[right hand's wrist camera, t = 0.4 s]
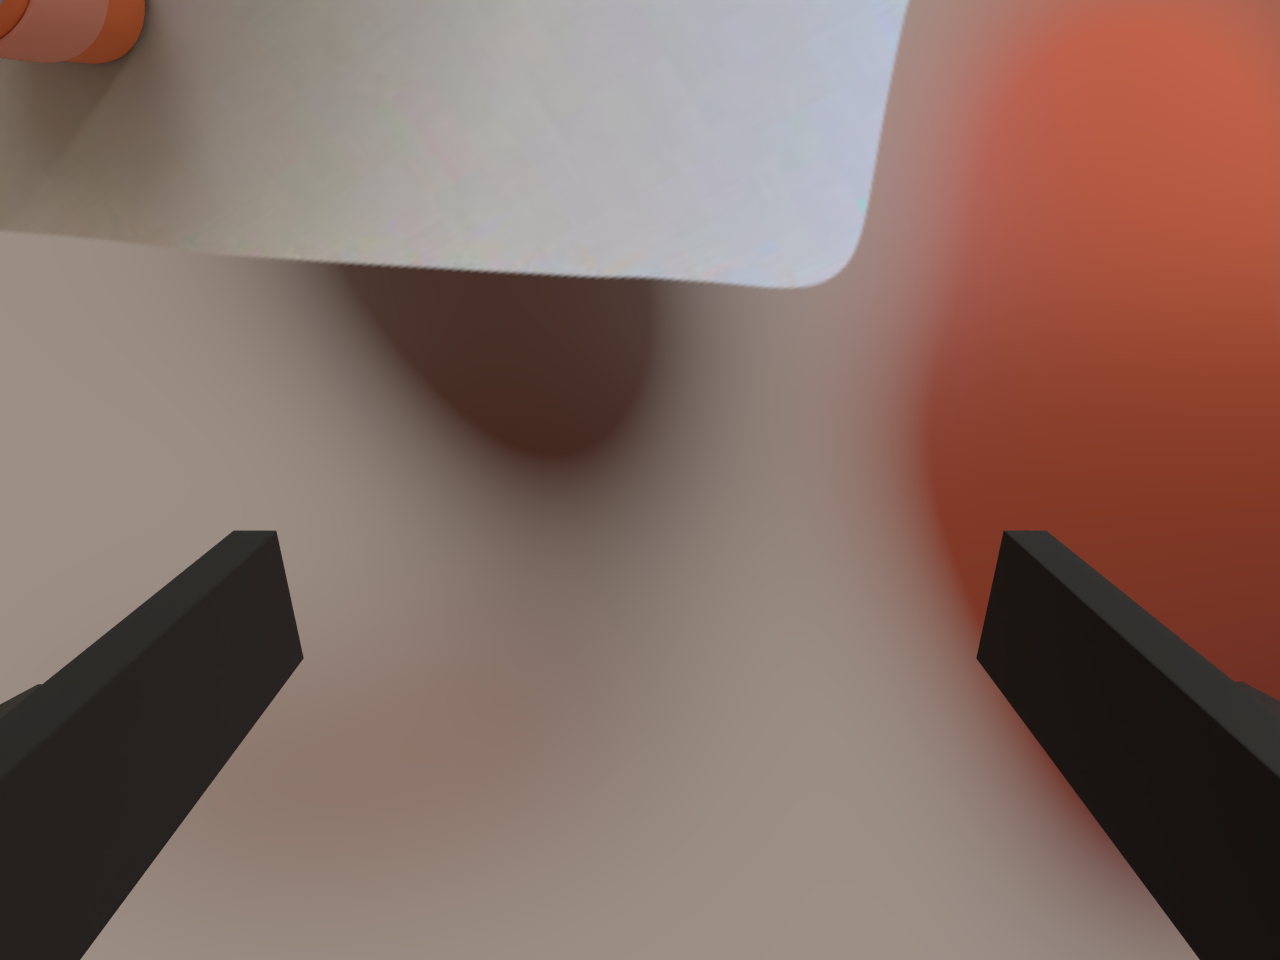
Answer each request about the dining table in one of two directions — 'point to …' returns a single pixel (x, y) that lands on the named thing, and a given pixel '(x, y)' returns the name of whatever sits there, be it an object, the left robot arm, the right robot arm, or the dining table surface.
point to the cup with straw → (69, 29)
